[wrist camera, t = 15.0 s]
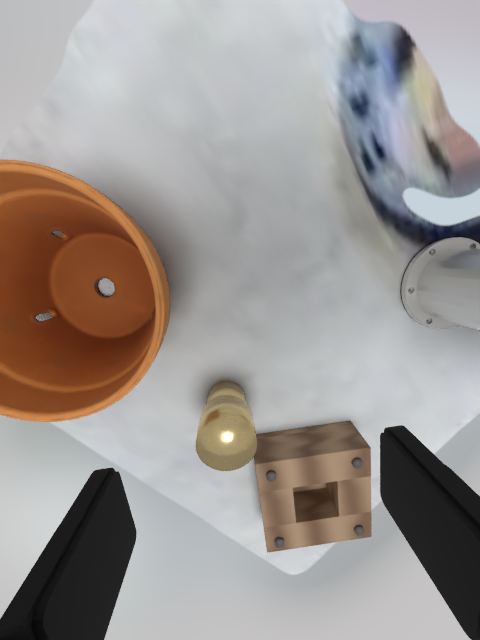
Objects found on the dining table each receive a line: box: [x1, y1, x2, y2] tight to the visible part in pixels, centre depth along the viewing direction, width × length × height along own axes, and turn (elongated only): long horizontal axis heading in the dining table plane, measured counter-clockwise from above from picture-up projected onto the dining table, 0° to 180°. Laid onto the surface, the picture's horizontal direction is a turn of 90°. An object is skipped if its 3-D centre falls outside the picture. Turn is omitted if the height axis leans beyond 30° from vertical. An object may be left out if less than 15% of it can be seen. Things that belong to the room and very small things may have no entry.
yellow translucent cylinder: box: [196, 381, 257, 471], centre depth 35 cm, size 7×7×10 cm
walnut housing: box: [254, 421, 371, 552], centre depth 40 cm, size 16×16×6 cm
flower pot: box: [0, 160, 170, 422], centre depth 28 cm, size 21×21×15 cm
